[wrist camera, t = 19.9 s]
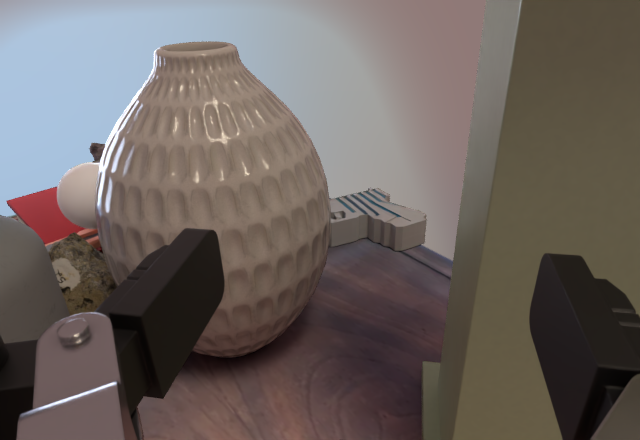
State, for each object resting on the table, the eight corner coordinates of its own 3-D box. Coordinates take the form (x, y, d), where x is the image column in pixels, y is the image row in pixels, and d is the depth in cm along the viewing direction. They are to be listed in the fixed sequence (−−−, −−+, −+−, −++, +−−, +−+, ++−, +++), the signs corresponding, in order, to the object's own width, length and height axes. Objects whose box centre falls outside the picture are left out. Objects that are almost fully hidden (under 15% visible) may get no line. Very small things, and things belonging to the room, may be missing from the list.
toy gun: (432, 218, 49) (381, 184, 57) (307, 252, 44) (270, 210, 52) (430, 242, 51) (380, 206, 59) (309, 279, 45) (272, 233, 53)
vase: (100, 329, 39) (11, 50, 29) (254, 254, 49) (230, 27, 39) (202, 452, 29) (122, 86, 19) (373, 327, 39) (383, 41, 28)
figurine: (97, 174, 34) (160, 125, 45) (29, 181, 35) (107, 131, 45) (132, 266, 38) (183, 201, 48) (71, 271, 39) (134, 205, 49)
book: (204, 255, 49) (197, 213, 47) (80, 311, 42) (64, 264, 39) (129, 204, 61) (120, 168, 59) (21, 240, 53) (6, 200, 51)
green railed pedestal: (745, 629, 21) (1897, -750, 5) (422, 568, 23) (571, -496, 8) (624, 385, 33) (869, -250, 17) (421, 362, 35) (478, -212, 20)
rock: (136, 382, 36) (19, 326, 30) (106, 325, 43) (4, 269, 36) (186, 325, 37) (84, 258, 31) (149, 278, 44) (58, 215, 37)
